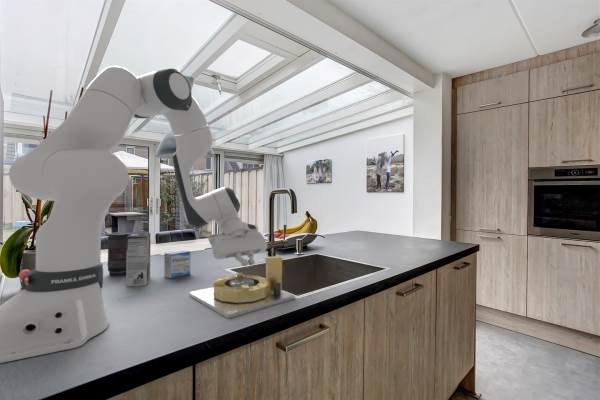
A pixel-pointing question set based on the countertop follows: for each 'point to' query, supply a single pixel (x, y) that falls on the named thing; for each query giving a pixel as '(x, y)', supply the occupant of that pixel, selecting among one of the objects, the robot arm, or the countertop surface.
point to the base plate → (242, 307)
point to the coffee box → (138, 259)
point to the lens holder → (245, 292)
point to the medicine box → (176, 264)
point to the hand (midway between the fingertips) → (248, 264)
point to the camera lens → (117, 254)
